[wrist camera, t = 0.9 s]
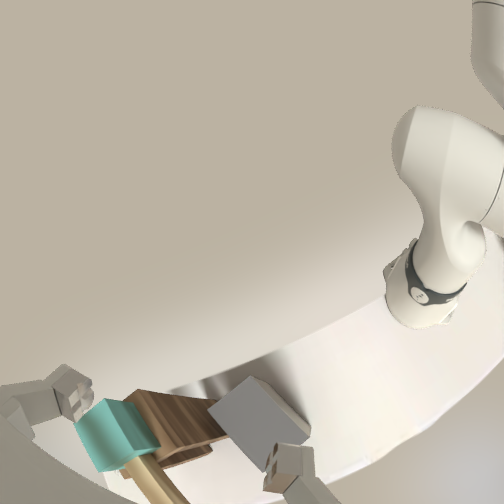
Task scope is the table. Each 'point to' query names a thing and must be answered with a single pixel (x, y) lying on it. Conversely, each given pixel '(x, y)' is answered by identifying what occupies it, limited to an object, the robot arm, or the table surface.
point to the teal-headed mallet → (126, 448)
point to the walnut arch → (177, 426)
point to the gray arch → (258, 420)
